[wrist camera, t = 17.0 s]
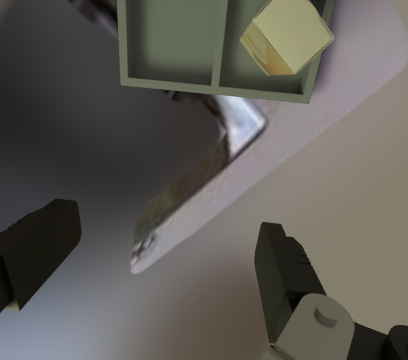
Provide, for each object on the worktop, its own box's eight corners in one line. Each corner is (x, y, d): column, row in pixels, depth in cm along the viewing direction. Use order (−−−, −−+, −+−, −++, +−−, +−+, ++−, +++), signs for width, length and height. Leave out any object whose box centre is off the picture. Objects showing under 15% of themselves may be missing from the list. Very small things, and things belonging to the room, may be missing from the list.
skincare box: (237, 40, 31) (247, 16, 20) (264, 12, 30) (290, -30, 18) (268, 78, 33) (294, 77, 21) (294, 53, 31) (337, 37, 20)
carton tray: (129, 84, 35) (120, 85, 32) (126, -27, 30) (115, -40, 26) (300, 101, 34) (309, 103, 31) (326, -9, 29) (340, -20, 26)
